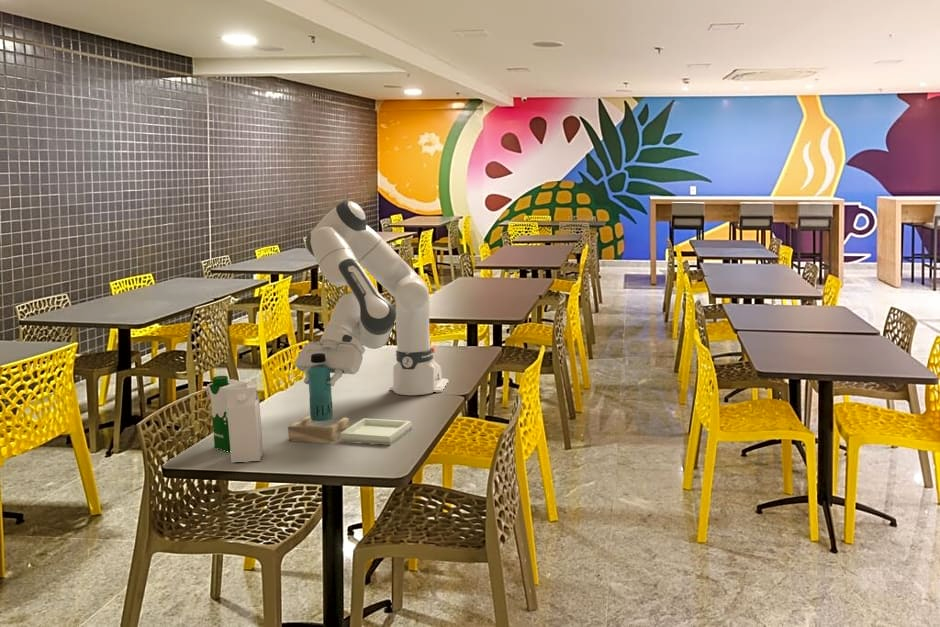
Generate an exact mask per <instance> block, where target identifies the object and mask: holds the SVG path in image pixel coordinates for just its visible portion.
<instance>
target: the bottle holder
mask: <svg viewBox="0 0 940 627" xmlns="http://www.w3.org/2000/svg"><path fill="white" fill-rule="evenodd" d="M314 422H315V421H313V420H311V417H310V415H307V416H305V417H303V418H301V419H299V420H297V421H296V422H293V423H292V424H290V425H289V426H287V432H288V434H287V436H288V441H289V440H292V441H291V442H301V441H305V442H304V443H315V442H318V443H319V442H320V443H319V444H329V443H331V442H332V443H334V442H335V441H337V440H338V438H339V439H340V433H341V432H343V431H344V430H346V429H347V428H349V427H350V418H349V417H343V418H341V419H339V420H338V421H336V422H335V423H333V424H331V425H329V426H328V427H325V426H323V427H322V426H315V423H314ZM336 439H337V440H336ZM333 441H334V442H333ZM318 443H317V444H318ZM332 443H331V444H332Z"/></svg>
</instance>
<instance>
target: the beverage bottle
mask: <svg viewBox="0 0 940 627" xmlns="http://www.w3.org/2000/svg"><path fill="white" fill-rule="evenodd" d="M325 361H326V358H325V354H323V353H317V354H312V355H311V362H312V363H322V362H325ZM328 378H331V373H330V368H328V367H327V366H326V365H313V366H311V367H310V368H309V369H308V380H309V384H308V391H309V392H308V394H309V413H310V415H309V416H310V417H311V420H313V421H314V422H326V421H330V420H332V419H333V416H334V414H333V413H334V412H333V411H334V410H333V401H332V400H333V396H332V387H333V386H329V385H328V384H327V381H328Z"/></svg>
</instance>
